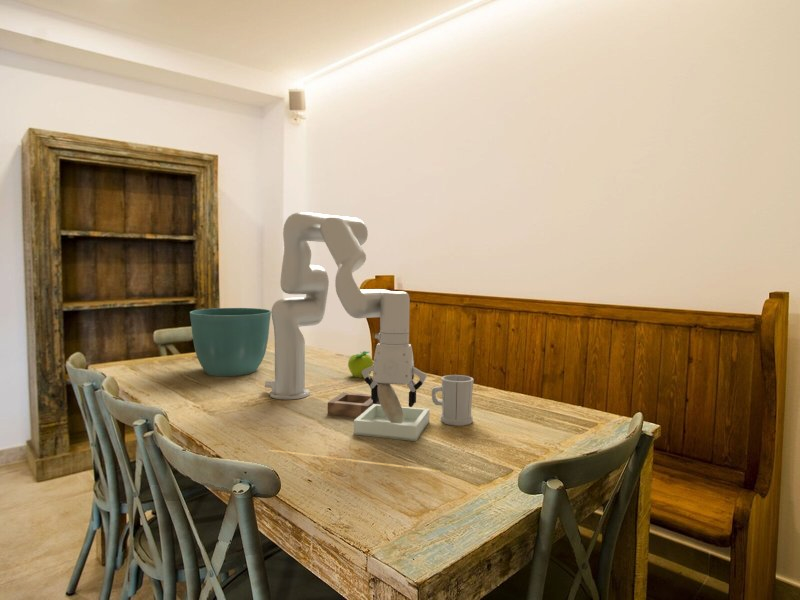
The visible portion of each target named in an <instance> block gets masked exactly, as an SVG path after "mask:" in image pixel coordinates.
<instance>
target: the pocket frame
mask: <svg viewBox="0 0 800 600" xmlns="http://www.w3.org/2000/svg"><path fill="white" fill-rule="evenodd" d="M376 404H379V405H381V404H380V402H379V401H378V402H377V403H376ZM372 405H373V400H371V394H367V393H356V392H355V393H353V392H342V393H340V394H338V395H337V396H335V397H334V398H331V400H329V401H328V402H327V415H329V416H331V415H332V416H341V417H350V418H357V417H358V416H360V415H361V414H362V413H363V412H365V411H366V410H367V409H368V408H369V407H371V406H372Z"/></svg>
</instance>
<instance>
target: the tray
mask: <svg viewBox="0 0 800 600" xmlns="http://www.w3.org/2000/svg"><path fill="white" fill-rule="evenodd" d="M401 407H402V411H403V421H402V423H391V422H390V421H389V419H388V418H387V416H386V415H385V413H384V411H383V409H382V407H381V405H379V404H373V405H372V406H371V407H369V408H368V409H367V410H366V411H365V412H363V413H362V414H361V415H360V416H358V417H355V419H354V420H353V435H355V436H362V437H364V436H365V437H373V438H382V439H393V440H402V441H411V442H417V441H418V439H419V438H420V436H421V435H422V434H423V432H424V430H425V429H426V427H427V426H428V425H429V423H430V408H423V407H413V406H412V407H409V406H402V405H401Z"/></svg>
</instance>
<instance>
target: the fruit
mask: <svg viewBox="0 0 800 600" xmlns="http://www.w3.org/2000/svg"><path fill="white" fill-rule="evenodd" d="M369 353H370V351H365V350H364V351H361V353H360V354H358V353H357V354H353V355H351V356H350V358H349V359H348V364H347V366H348V369H349V371H350V374H351V376H353V377H354V378H357V379H365V378H364V377H363V374H362V371H363V370H364V369H366V368H369V367H371V366H373V365H374V360H373V358H372V357H371V356H370V355H369ZM371 373H372V371H371V372H369V375H371Z"/></svg>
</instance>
